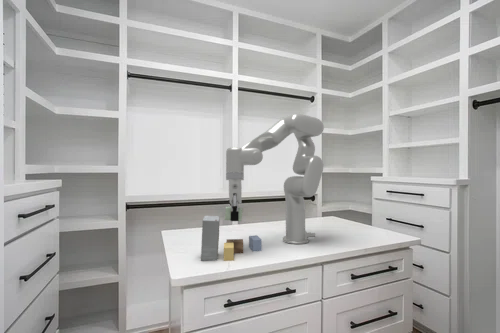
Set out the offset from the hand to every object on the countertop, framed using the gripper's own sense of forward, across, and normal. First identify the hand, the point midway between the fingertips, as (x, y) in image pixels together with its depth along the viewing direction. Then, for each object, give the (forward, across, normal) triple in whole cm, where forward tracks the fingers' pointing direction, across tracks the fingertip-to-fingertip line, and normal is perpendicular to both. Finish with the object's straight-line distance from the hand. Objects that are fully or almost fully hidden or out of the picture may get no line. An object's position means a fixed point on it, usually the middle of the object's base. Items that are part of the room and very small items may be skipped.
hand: (234, 219), depth 107 cm
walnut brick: (+14, 0, 0) cm, 14 cm away
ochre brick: (+14, -6, +2) cm, 15 cm away
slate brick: (+14, +4, -9) cm, 17 cm away
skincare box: (+14, -6, +9) cm, 18 cm away
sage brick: (0, 0, +1) cm, 1 cm away
